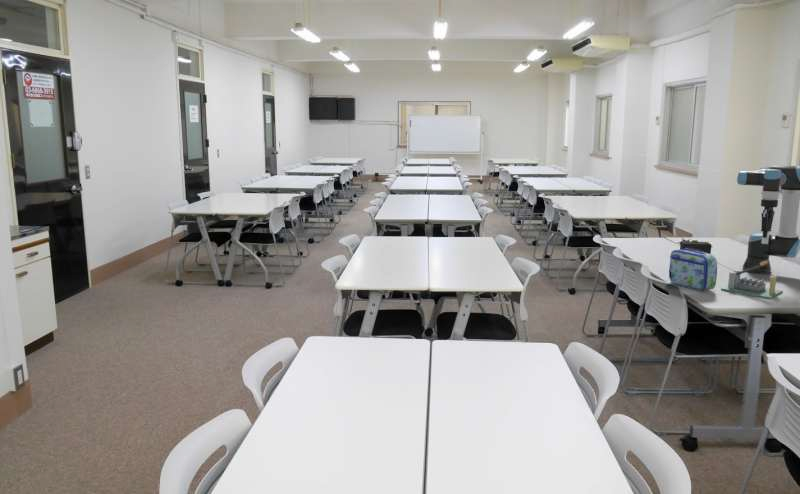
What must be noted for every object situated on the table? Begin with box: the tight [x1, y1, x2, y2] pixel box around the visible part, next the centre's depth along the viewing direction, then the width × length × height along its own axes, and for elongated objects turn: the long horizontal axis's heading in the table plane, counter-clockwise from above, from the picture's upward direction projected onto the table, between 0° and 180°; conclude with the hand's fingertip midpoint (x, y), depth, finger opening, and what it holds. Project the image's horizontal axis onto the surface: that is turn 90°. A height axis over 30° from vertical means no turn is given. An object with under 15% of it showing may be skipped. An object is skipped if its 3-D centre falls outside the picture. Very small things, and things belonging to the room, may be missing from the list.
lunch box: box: [668, 248, 718, 291], centre depth 331 cm, size 26×11×21 cm, turn 21°
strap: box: [736, 260, 768, 275], centre depth 321 cm, size 4×16×2 cm, turn 42°
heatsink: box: [736, 276, 767, 293], centre depth 323 cm, size 10×11×6 cm
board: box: [720, 269, 783, 300], centre depth 322 cm, size 19×24×10 cm
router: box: [679, 239, 713, 255], centre depth 362 cm, size 8×18×20 cm, turn 78°
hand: (764, 243), depth 317 cm, fingers closed
